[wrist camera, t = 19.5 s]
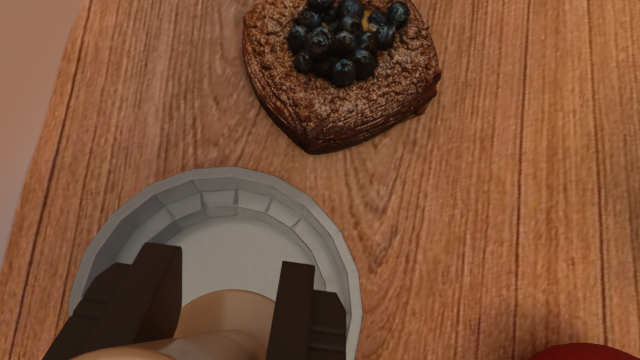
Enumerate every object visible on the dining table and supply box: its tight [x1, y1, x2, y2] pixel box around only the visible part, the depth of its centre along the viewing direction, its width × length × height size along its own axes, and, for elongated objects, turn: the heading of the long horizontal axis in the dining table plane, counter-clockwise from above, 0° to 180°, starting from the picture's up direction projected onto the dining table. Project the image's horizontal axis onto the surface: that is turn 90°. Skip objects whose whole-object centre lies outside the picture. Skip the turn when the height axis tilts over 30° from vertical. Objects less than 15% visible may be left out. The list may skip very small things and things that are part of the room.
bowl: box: [68, 166, 363, 360], centre depth 28 cm, size 14×14×6 cm
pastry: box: [242, 0, 442, 155], centre depth 33 cm, size 11×12×6 cm
